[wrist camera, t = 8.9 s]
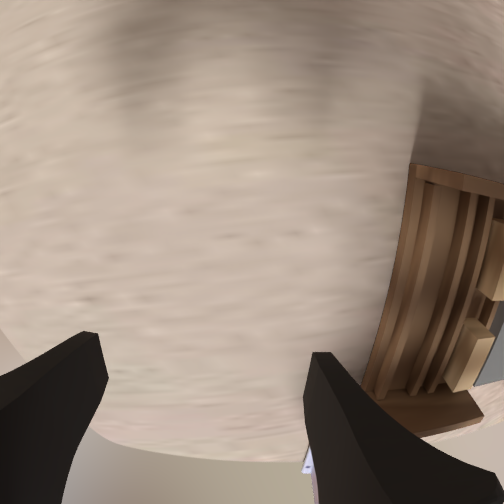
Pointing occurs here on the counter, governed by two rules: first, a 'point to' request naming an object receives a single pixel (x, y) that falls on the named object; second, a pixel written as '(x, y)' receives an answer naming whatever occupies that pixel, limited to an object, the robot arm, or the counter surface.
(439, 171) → the rack
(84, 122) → the counter surface
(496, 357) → the mat
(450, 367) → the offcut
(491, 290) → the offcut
